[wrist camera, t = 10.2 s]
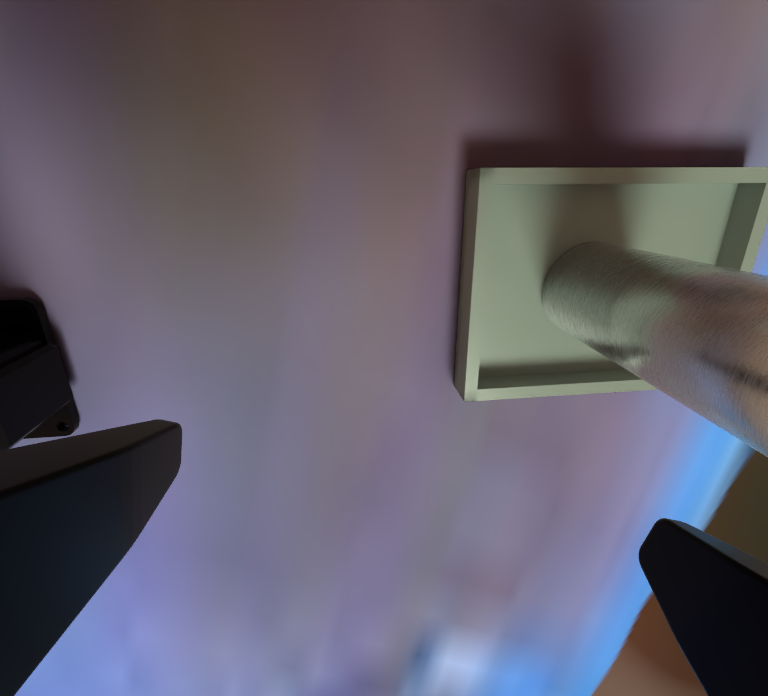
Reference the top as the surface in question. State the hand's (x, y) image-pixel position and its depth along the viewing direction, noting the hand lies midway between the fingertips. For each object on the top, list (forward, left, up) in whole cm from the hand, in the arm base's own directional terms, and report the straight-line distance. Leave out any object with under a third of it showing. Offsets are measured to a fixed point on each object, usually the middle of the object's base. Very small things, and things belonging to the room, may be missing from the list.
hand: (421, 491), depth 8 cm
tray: (+11, +1, -13) cm, 17 cm away
